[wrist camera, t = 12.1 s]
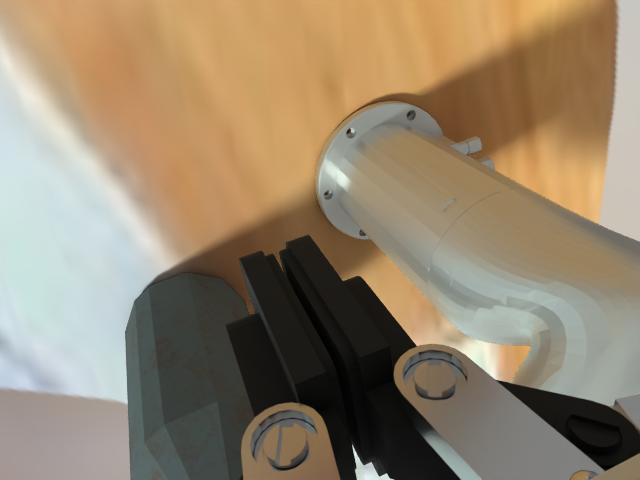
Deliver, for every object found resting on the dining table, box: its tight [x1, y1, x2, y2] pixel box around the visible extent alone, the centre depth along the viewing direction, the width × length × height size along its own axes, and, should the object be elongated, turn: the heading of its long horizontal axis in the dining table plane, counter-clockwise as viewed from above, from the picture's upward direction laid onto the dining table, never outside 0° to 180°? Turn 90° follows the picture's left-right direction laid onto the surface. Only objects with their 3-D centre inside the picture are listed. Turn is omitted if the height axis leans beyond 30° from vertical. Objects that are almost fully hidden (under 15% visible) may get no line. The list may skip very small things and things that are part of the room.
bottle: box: [125, 272, 255, 480], centre depth 31 cm, size 10×10×30 cm
